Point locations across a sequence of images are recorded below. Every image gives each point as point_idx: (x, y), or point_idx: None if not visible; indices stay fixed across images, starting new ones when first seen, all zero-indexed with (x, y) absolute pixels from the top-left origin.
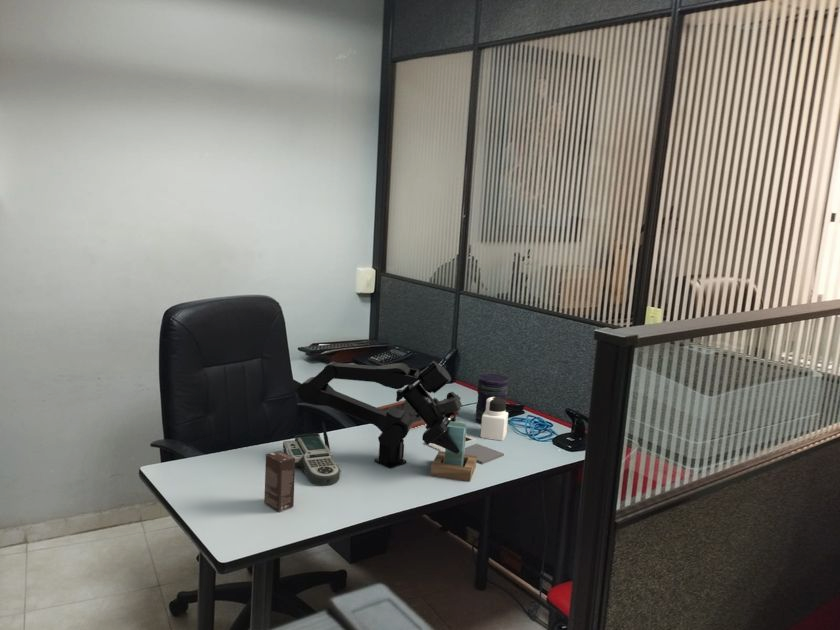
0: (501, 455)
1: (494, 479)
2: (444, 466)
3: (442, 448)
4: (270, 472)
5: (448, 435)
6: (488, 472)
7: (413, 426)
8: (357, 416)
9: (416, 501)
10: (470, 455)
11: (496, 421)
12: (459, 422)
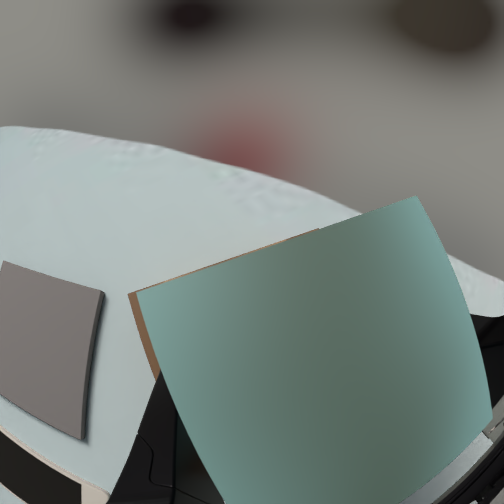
0: (13, 264)
1: (218, 187)
2: None
3: (91, 490)
4: None
5: (494, 321)
6: (168, 233)
7: None
8: None
9: (492, 294)
10: (138, 326)
11: None
12: (204, 439)
